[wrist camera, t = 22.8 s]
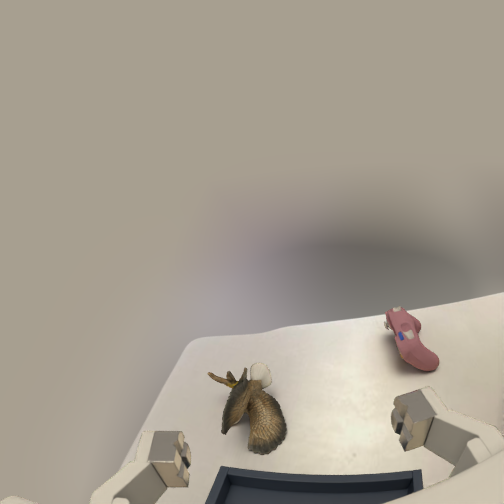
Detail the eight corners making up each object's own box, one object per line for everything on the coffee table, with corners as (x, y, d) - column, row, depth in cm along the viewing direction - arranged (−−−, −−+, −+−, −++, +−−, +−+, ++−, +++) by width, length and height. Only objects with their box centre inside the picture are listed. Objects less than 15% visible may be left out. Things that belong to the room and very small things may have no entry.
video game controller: (394, 341, 42) (375, 306, 40) (421, 326, 40) (404, 289, 39) (409, 386, 32) (390, 348, 31) (443, 368, 31) (427, 328, 30)
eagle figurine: (195, 402, 33) (207, 450, 24) (217, 347, 33) (235, 385, 24) (257, 415, 35) (282, 460, 26) (280, 364, 35) (313, 401, 26)
